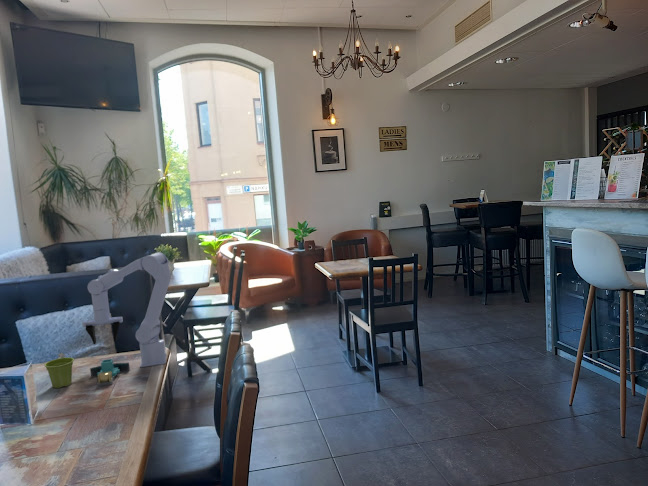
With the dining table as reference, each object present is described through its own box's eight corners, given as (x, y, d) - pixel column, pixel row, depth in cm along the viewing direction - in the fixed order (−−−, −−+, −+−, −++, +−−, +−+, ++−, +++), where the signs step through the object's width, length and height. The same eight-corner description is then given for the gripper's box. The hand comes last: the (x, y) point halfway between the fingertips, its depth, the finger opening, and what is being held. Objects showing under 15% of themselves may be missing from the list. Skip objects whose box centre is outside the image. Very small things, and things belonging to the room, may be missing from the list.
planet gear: (120, 368, 187) (119, 356, 187) (118, 375, 180) (116, 362, 179) (99, 372, 185) (97, 359, 185) (95, 379, 178) (94, 365, 177)
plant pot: (82, 379, 181) (79, 356, 180) (66, 389, 172) (63, 366, 171) (58, 380, 182) (55, 357, 181) (41, 390, 173) (38, 367, 172)
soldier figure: (45, 375, 191) (46, 358, 201) (56, 380, 194) (57, 363, 204) (59, 361, 192) (59, 344, 201) (70, 366, 194) (69, 349, 204)
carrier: (130, 368, 190) (128, 356, 189) (125, 382, 176) (123, 368, 175) (91, 374, 186) (90, 361, 186) (83, 388, 172) (81, 374, 172)
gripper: (122, 304, 199) (126, 336, 201) (83, 308, 195) (87, 341, 197) (119, 308, 192) (123, 341, 194) (79, 312, 189) (83, 347, 190)
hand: (105, 342), depth 195 cm, fingers open, 7 cm apart
